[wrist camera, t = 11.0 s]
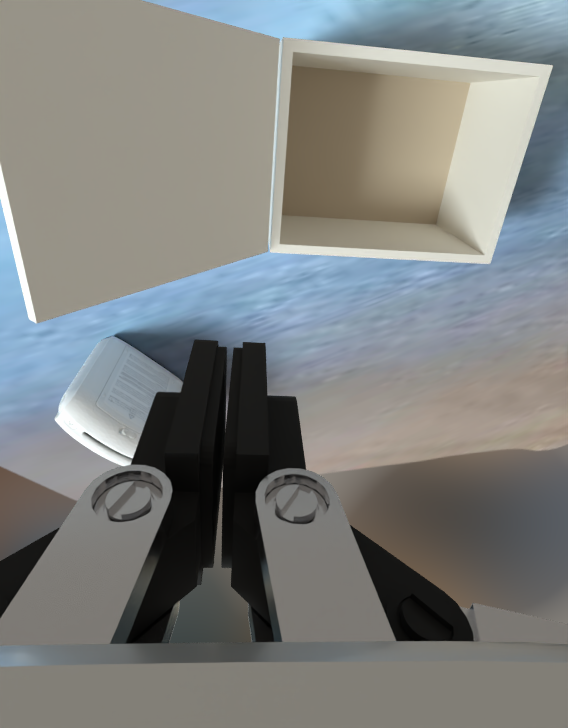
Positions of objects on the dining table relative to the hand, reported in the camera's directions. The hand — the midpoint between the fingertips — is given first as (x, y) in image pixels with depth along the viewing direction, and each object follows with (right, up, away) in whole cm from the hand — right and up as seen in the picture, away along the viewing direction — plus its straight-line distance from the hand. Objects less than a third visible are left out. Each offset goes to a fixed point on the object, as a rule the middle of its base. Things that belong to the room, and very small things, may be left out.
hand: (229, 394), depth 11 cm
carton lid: (-4, +11, +10) cm, 15 cm away
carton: (+8, +18, +26) cm, 33 cm away
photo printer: (-14, 0, +35) cm, 38 cm away
